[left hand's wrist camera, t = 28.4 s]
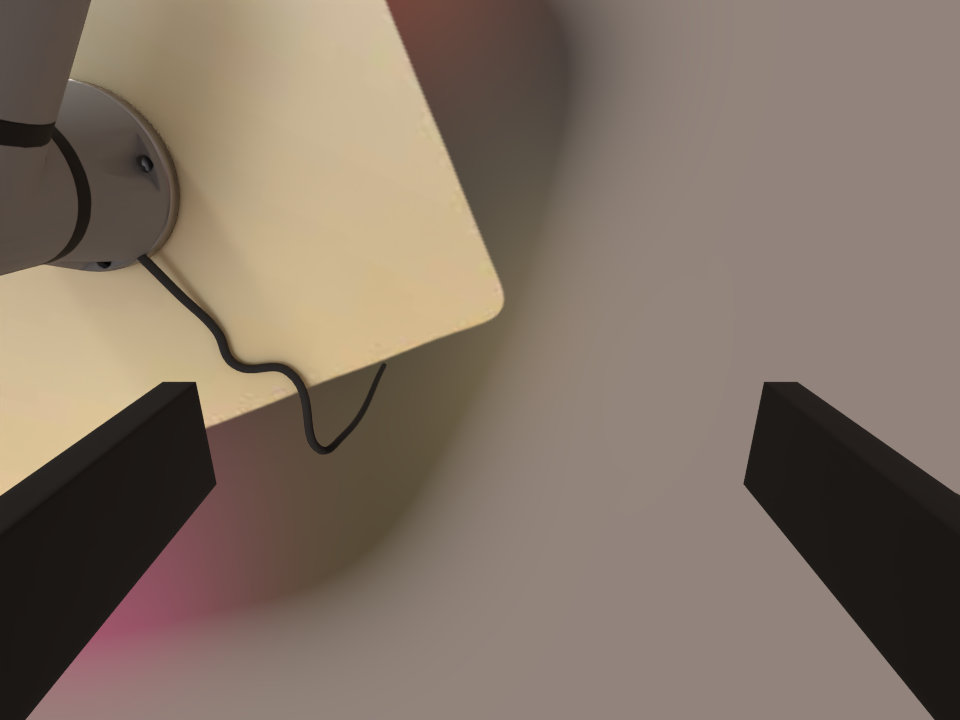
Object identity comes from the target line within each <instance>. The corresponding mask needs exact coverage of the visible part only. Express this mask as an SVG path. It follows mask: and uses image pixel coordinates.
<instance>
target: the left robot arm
mask: <svg viewBox="0 0 960 720" xmlns="http://www.w3.org/2000/svg"><path fill="white" fill-rule="evenodd" d="M90 2H91V0H0V276H1V275H4V274H8V273H12V272H16V271H19V270H23V269H27V268H31V267H35V266H38V265H43V264H45V265H51V266H57V267H64V268H70V269H76V270H83V271H95V272H101V271H111V270H117V269H120V268H124V267H127V266H130V265H134V264H136V263H139V262H140V263H141V264H142V265H143V266H144V267H145V268H146V269H147V270H148V271H149V272H150V273H151V274H152V275H153V276H154V277H155V278H156V279H157V280H158V281H159V282H160V283H162V284H163V285H164V286H165V287H166V288H167V289H168V290H169V291H170V292H171V293H172V294H173V295H174V296H175V297H176V298H177V299H178V300H179V301H180V302H181V303H182V304H183V305H184V306H185V307H187V308H188V309H189V310H190V311H191V312H192V313H194V314H195V315H196V316H197V317H198V318H199V319H200V320H201V321H202V322H203V323H204V324H205V325H206V326H207V327H208V328H209V330H210V331H211V332H212V333H213V335H214V336H215V338H216V340H217V343H218V346H219V349H220V352H221V355H222V357H223V359H224V360H225V362H226V363H227V364H228V365H229V366H230V367H232V368H233V369H235V370H237V371H240V372H244V373H260V372H268V371H277V372H281V373H283V374H285V375H286V376H287V377H288V378H289V379H291V380H292V382H293V383H294V384H295V386H296V388H297V390H298V392H299V395H300V398H301V402H302V408H303V417H304V426H305V433H306V437H307V441H308V443H309V445H310V447H311V448H312V449H313V450H314V451H316V452H317V453H319V454H323V455H324V454H329V453H331V452H333V451H334V450H335V449H336V448H337V447H338V446H339V445H340V444H341V443H342V441H343V440H344V439H345V438H346V437H347V436H348V435H349V434H350V433H351V432H352V431H353V430H354V429H355V427H356V426H357V425H358V424H359V422H360V421H361V419H362V418H363V416H364V414H365V413H366V411H367V409H368V407H369V405H370V403H371V400H372V398H373V396H374V393H375V391H376V388H377V386H378V383H379V381H380V379H381V376H382V374H383V372H384V370H385V368H386V364H385V363H382V365H381V367H380V368H379V370H378V372H377V374H376V376H375V378H374V381H373V383H372V385H371V388H370V390H369V392H368V395H367V397H366V399H365V401H364V403H363V405H362V407H361V409H360V411H359V412H358V414H357V415H356V417H355V418H354V420H353V421H352V422H351V423H350V425H349V426H348V427H347V428H346V429H345V430H344V431H343V432H342V433H341V434H340V435H339V436H338V437H337V438H336V439H335V440H334V441H333V442H332V443H331V444H330V445H328V446H326V447H323V446H321V445H320V444H319V443H318V442H317V440H316V438H315V435H314V430H313V423H312V413H311V405H310V400H309V395H308V392H307V389H306V387H305V385H304V383H303V381H302V380H301V378H300V377H299V376H298V375H297V374H296V373H295V372H294V371H293V370H292V369H291V368H289V367H288V366H285V365H283V364H277V363H268V364H259V365H245V364H242V363H240V362H238V361H237V360H235V359H234V358H233V356H232V355H231V353H230V351H229V348H228V344H227V341H226V338H225V336H224V334H223V332H222V331H221V329H220V328H219V326H218V325H217V324H216V323H215V322H214V320H213V319H212V318H211V317H210V316H209V315H208V314H207V313H206V312H205V311H204V310H203V309H201V308H200V307H199V306H198V305H197V304H196V303H195V302H194V301H192V300H191V299H190V298H189V297H188V296H187V295H186V294H185V293H184V292H183V291H182V290H181V289H180V288H179V287H178V286H177V285H176V284H175V283H174V282H173V281H172V280H171V279H170V278H169V277H168V276H167V275H166V274H165V273H164V272H163V271H162V270H161V269H160V268H159V267H158V266H157V265H156V264H155V263H154V262H153V261H152V260H151V259H150V258H149V257H150V256H152V255H153V254H154V253H155V252H157V251H158V250H159V249H160V248H161V247H162V246H163V244H164V243H165V242H166V240H167V239H168V238H169V236H170V234H171V232H172V230H173V228H174V225H175V223H176V219H177V215H178V209H179V185H178V179H177V174H176V170H175V167H174V164H173V161H172V159H171V156H170V154H169V152H168V150H167V148H166V146H165V144H164V142H163V141H162V139H161V137H160V136H159V134H158V133H157V131H156V130H155V129H154V127H153V126H152V125H151V124H150V123H149V121H148V120H147V119H146V118H145V117H144V116H143V115H142V114H141V113H140V112H139V111H138V110H137V109H135V108H134V107H133V106H132V105H131V104H129V103H128V102H127V101H125V100H124V99H122V98H121V97H119V96H117V95H116V94H114V93H112V92H110V91H108V90H106V89H104V88H102V87H99V86H96V85H94V84H90V83H86V82H82V81H77V80H72V79H69V75H70V72H71V68H72V65H73V61H74V58H75V54H76V51H77V47H78V44H79V41H80V37H81V34H82V30H83V27H84V23H85V20H86V16H87V13H88V9H89V6H90ZM215 485H216V479H215V474H214V469H213V464H212V459H211V454H210V449H209V445H208V440H207V435H206V430H205V425H204V420H203V415H202V410H201V405H200V400H199V395H198V390H197V385H196V382H162V383H161V384H159V385H158V386H156V387H155V388H153V389H152V390H151V391H149V392H148V393H146V394H145V395H143V396H142V397H141V398H139V399H138V400H136V401H135V402H133V403H132V404H131V405H129V406H128V407H126V408H125V409H124V410H122V411H121V412H119V413H118V414H116V415H115V416H114V417H112V418H111V419H109V420H108V421H106V422H105V423H104V424H102V425H101V426H99V427H98V428H96V429H95V430H94V431H92V432H91V433H89V434H88V435H87V436H85V437H84V438H82V439H81V440H79V441H78V442H77V443H75V444H74V445H72V446H71V447H69V448H68V449H67V450H65V451H64V452H62V453H61V454H59V455H58V456H57V457H55V458H54V459H52V460H51V461H49V462H48V463H47V464H45V465H44V466H42V467H41V468H40V469H38V470H37V471H35V472H34V473H32V474H31V475H30V476H28V477H27V478H25V479H24V480H22V481H21V482H20V483H18V484H17V485H15V486H14V487H12V488H11V489H10V490H8V491H7V492H5V493H4V494H3V495H1V496H0V720H26V718H27V717H28V716H29V715H30V713H31V712H32V711H33V710H34V708H35V707H36V706H37V705H38V704H39V702H40V701H41V700H42V699H43V697H44V696H45V695H46V694H47V692H48V691H49V690H50V689H51V687H52V686H53V685H54V684H55V682H56V681H57V680H58V679H59V678H60V676H61V675H62V674H63V673H64V671H65V670H66V669H67V668H68V667H69V665H70V664H71V663H72V662H73V660H74V659H75V658H76V657H77V655H78V654H79V653H80V652H81V650H82V649H83V648H84V647H85V646H86V644H87V643H88V642H89V641H90V639H91V638H92V637H93V636H94V634H95V633H96V632H97V631H98V629H99V628H100V627H101V626H102V625H103V623H104V622H105V621H106V620H107V618H108V617H109V616H110V615H111V613H112V612H113V611H114V610H115V609H116V607H117V606H118V605H119V604H120V602H121V601H122V600H123V599H124V597H125V596H126V595H127V594H128V592H129V591H130V590H131V589H132V588H133V586H134V585H135V584H136V583H137V581H138V580H139V579H140V578H141V577H142V575H143V574H144V573H145V572H146V570H147V569H148V568H149V567H150V565H151V564H152V563H153V562H154V560H155V559H156V558H157V557H158V555H159V554H160V553H161V552H162V551H163V549H164V548H165V547H166V546H167V544H168V543H169V542H170V541H171V540H172V538H173V537H174V536H175V535H176V533H177V532H178V531H179V530H180V528H181V527H182V526H183V525H184V523H185V522H186V521H187V520H188V519H189V517H190V516H191V515H192V514H193V512H194V511H195V510H196V509H197V507H198V506H199V505H200V504H201V503H202V501H203V500H204V499H205V498H206V496H207V495H208V494H209V493H210V491H211V490H212V489H213V488H214V486H215ZM744 485H745V486H746V488H747V489H748V490H749V491H750V493H751V494H752V495H753V496H754V498H755V499H756V500H757V501H758V502H759V504H760V505H761V506H762V507H763V509H764V510H765V511H766V512H767V514H768V515H769V516H770V517H771V519H772V520H773V521H774V522H775V523H776V525H777V526H778V527H779V528H780V530H781V531H782V532H783V533H784V535H785V536H786V537H787V538H788V540H789V541H790V542H791V543H792V544H793V546H794V547H795V548H796V549H797V551H798V552H799V553H800V554H801V556H802V557H803V558H804V559H805V560H806V562H807V563H808V564H809V565H810V567H811V568H812V569H813V570H814V572H815V573H816V574H817V575H818V576H819V578H820V579H821V580H822V581H823V583H824V584H825V585H826V586H827V588H828V589H829V590H830V591H831V593H832V594H833V595H834V596H835V597H836V599H837V600H838V601H839V602H840V604H841V605H842V606H843V607H844V609H845V610H846V611H847V612H848V614H849V615H850V616H851V617H852V618H853V620H854V621H855V622H856V623H857V625H858V626H859V627H860V628H861V630H862V631H863V632H864V633H865V634H866V636H867V637H868V638H869V639H870V641H871V642H872V643H873V644H874V646H875V647H876V648H877V649H878V650H879V652H880V653H881V654H882V655H883V657H884V658H885V659H886V660H887V662H888V663H889V664H890V665H891V667H892V668H893V669H894V670H895V671H896V673H897V674H898V675H899V676H900V678H901V679H902V680H903V681H904V682H905V684H906V685H907V686H908V687H909V689H910V690H911V691H912V692H913V694H914V695H915V696H916V697H917V699H918V700H919V701H920V702H921V703H922V705H923V706H924V707H925V708H926V710H927V711H928V712H929V713H930V715H931V716H932V717H933V718H934V720H960V495H959V494H957V493H955V492H953V491H952V490H950V489H949V488H947V487H946V486H945V485H943V484H942V483H940V482H939V481H938V480H936V479H935V478H933V477H932V476H930V475H929V474H928V473H926V472H925V471H923V470H922V469H920V468H919V467H918V466H916V465H915V464H913V463H912V462H910V461H909V460H908V459H906V458H905V457H903V456H902V455H900V454H899V453H898V452H896V451H895V450H893V449H892V448H891V447H889V446H888V445H886V444H885V443H883V442H882V441H881V440H879V439H878V438H876V437H875V436H873V435H872V434H871V433H869V432H868V431H866V430H865V429H863V428H862V427H861V426H859V425H858V424H856V423H855V422H854V421H852V420H851V419H849V418H848V417H846V416H845V415H844V414H842V413H841V412H839V411H838V410H836V409H835V408H834V407H832V406H831V405H829V404H828V403H826V402H825V401H824V400H822V399H821V398H819V397H818V396H817V395H815V394H814V393H812V392H811V391H809V390H808V389H807V388H805V387H804V386H802V385H801V384H799V383H798V382H764V385H763V390H762V395H761V400H760V405H759V410H758V415H757V420H756V425H755V430H754V435H753V440H752V445H751V450H750V454H749V459H748V464H747V469H746V475H745V479H744Z"/></svg>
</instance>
